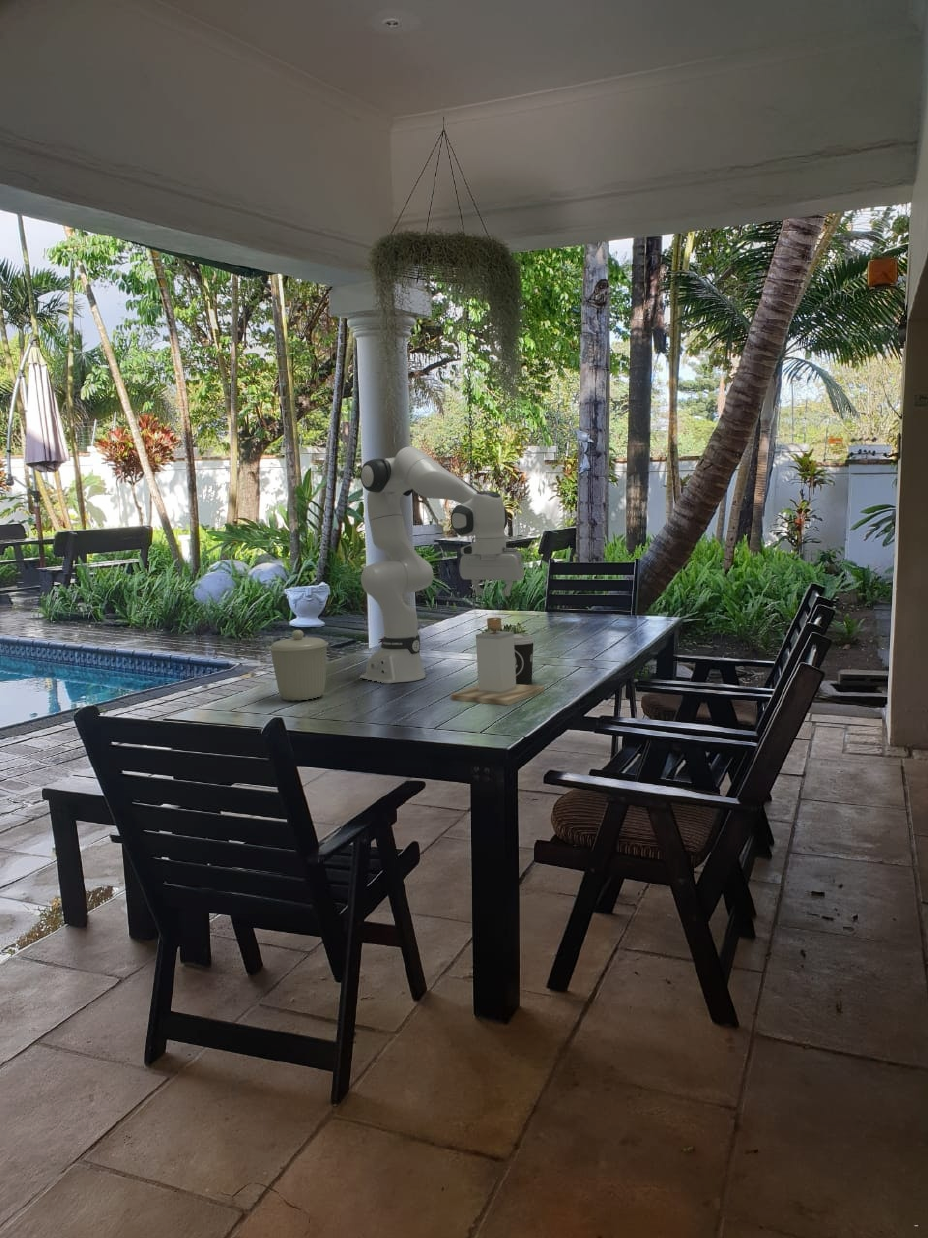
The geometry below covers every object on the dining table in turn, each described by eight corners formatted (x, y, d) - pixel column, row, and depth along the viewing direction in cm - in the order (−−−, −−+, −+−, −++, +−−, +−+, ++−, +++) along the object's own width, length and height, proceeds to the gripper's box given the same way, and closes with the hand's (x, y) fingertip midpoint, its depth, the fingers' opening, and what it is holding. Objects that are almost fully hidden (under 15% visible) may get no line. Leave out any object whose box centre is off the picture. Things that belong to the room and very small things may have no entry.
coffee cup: (534, 686, 299) (532, 637, 297) (503, 686, 301) (501, 638, 299) (538, 680, 308) (536, 632, 306) (508, 680, 310) (506, 633, 308)
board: (450, 699, 286) (450, 694, 286) (488, 686, 302) (488, 681, 302) (508, 705, 274) (507, 700, 274) (544, 691, 290) (544, 686, 290)
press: (478, 692, 287) (475, 634, 285) (498, 685, 296) (495, 629, 293) (501, 694, 282) (498, 636, 280) (520, 687, 291) (518, 630, 289)
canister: (326, 689, 311) (321, 623, 308) (337, 700, 294) (332, 630, 291) (268, 696, 305) (263, 629, 303) (276, 707, 288) (271, 636, 286)
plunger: (483, 688, 287) (480, 619, 284) (494, 685, 292) (491, 616, 289) (500, 690, 284) (496, 620, 281) (511, 686, 288) (507, 617, 286)
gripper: (527, 546, 279) (529, 595, 281) (468, 546, 291) (470, 593, 293) (515, 548, 274) (517, 597, 276) (456, 548, 286) (458, 595, 287)
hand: (492, 595), depth 284 cm, fingers open, 8 cm apart
